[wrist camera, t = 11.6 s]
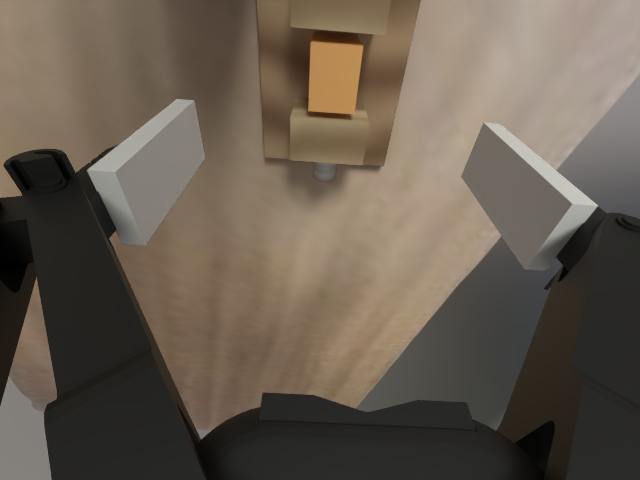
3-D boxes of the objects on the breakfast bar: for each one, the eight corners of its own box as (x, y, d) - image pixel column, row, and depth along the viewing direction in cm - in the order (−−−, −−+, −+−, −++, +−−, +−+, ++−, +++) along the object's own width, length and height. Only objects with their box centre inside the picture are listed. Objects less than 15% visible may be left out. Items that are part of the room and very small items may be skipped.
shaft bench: (254, -93, 23) (232, -118, 18) (433, -76, 24) (465, -94, 18) (266, 152, 36) (255, 183, 31) (382, 161, 37) (392, 192, 31)
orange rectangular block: (313, 32, 27) (310, 42, 23) (357, 36, 28) (363, 46, 23) (311, 92, 31) (308, 111, 26) (350, 95, 31) (354, 114, 26)
